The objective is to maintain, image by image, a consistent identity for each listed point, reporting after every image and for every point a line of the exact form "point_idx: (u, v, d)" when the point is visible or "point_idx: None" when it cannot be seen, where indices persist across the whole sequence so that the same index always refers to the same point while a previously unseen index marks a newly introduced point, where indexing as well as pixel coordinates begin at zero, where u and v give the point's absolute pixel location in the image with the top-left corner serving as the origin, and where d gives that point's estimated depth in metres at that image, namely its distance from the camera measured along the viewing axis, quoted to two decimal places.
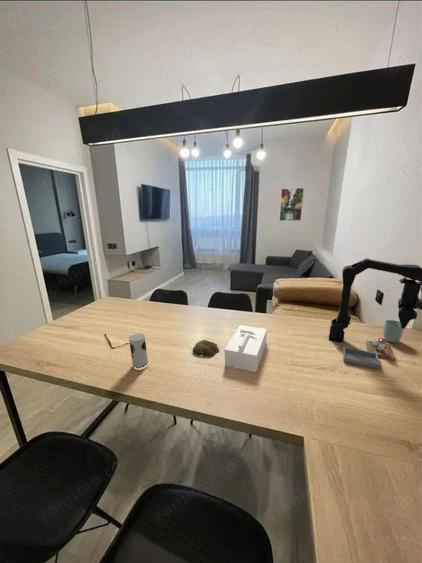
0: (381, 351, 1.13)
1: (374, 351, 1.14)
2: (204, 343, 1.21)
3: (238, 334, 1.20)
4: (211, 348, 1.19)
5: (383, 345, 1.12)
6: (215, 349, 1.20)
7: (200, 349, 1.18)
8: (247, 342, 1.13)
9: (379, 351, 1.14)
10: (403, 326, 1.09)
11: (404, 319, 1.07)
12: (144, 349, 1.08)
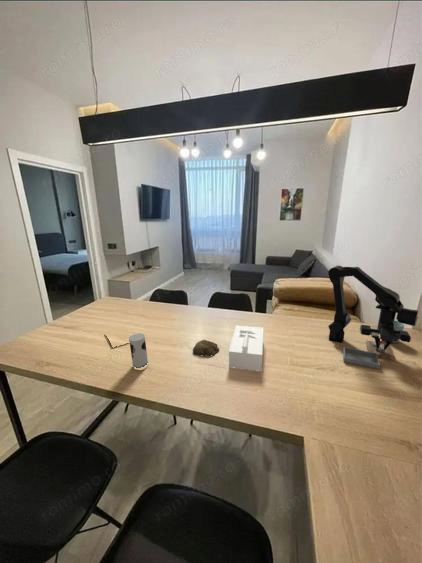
0: (381, 351, 1.13)
1: (374, 351, 1.14)
2: (204, 343, 1.21)
3: (237, 334, 1.20)
4: (211, 348, 1.19)
5: (383, 345, 1.12)
6: (215, 349, 1.20)
7: (200, 349, 1.18)
8: (249, 342, 1.13)
9: (379, 351, 1.14)
10: (376, 345, 1.15)
11: None
12: (144, 349, 1.08)
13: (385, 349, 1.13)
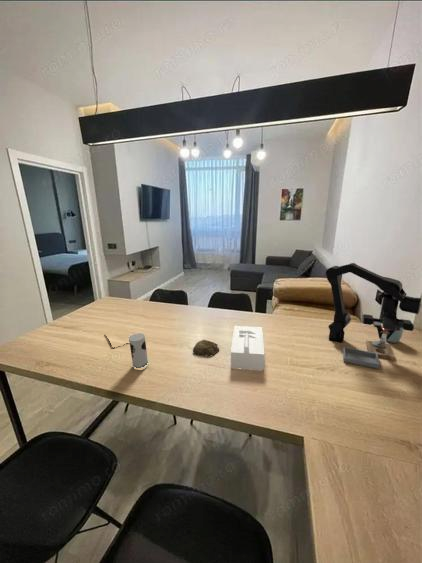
0: (383, 341, 1.12)
1: (374, 351, 1.14)
2: (204, 343, 1.21)
3: (237, 335, 1.19)
4: (211, 348, 1.19)
5: (385, 335, 1.11)
6: (215, 349, 1.20)
7: (200, 349, 1.18)
8: (249, 342, 1.13)
9: (381, 341, 1.12)
10: None
11: None
12: (144, 349, 1.08)
13: None
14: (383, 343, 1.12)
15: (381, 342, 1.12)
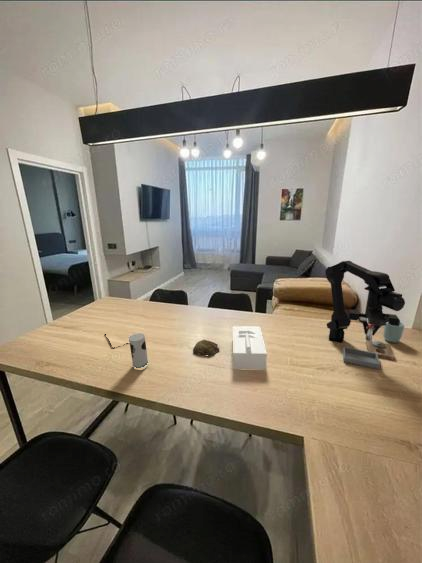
0: (369, 337, 1.07)
1: (374, 351, 1.14)
2: (204, 343, 1.21)
3: (236, 335, 1.19)
4: (211, 348, 1.19)
5: (371, 330, 1.06)
6: (215, 349, 1.20)
7: (200, 349, 1.18)
8: (250, 342, 1.13)
9: (367, 337, 1.08)
10: (364, 331, 1.08)
11: None
12: (144, 349, 1.08)
13: (373, 334, 1.07)
14: (369, 339, 1.07)
15: (367, 338, 1.08)
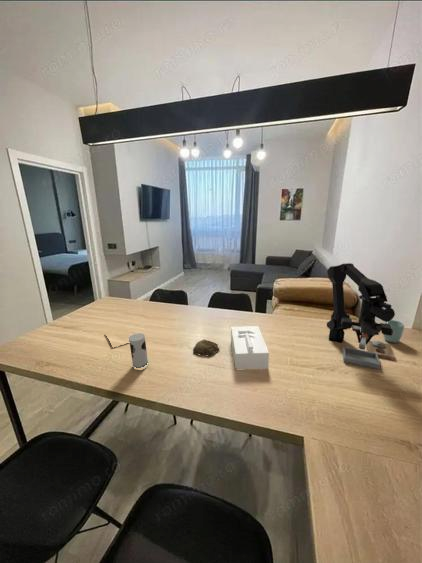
0: (363, 345, 1.07)
1: (374, 351, 1.14)
2: (205, 343, 1.21)
3: (236, 335, 1.19)
4: (212, 348, 1.19)
5: (365, 339, 1.06)
6: (215, 349, 1.20)
7: (200, 349, 1.19)
8: (251, 342, 1.13)
9: (361, 345, 1.08)
10: (358, 339, 1.09)
11: None
12: (144, 349, 1.08)
13: (367, 343, 1.07)
14: (362, 348, 1.08)
15: (360, 347, 1.08)
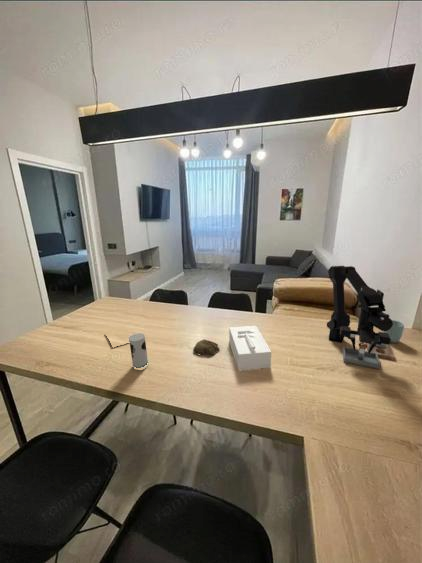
0: (361, 356, 1.09)
1: (374, 351, 1.14)
2: (205, 343, 1.21)
3: (236, 336, 1.18)
4: (212, 348, 1.19)
5: (363, 350, 1.08)
6: (216, 349, 1.20)
7: (201, 349, 1.19)
8: (251, 342, 1.13)
9: (359, 356, 1.09)
10: (353, 347, 1.11)
11: None
12: (144, 349, 1.08)
13: (369, 352, 1.07)
14: (361, 359, 1.09)
15: (359, 357, 1.10)
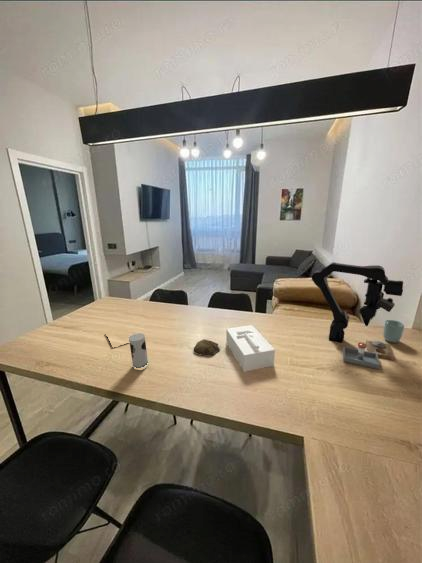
0: (361, 356, 1.09)
1: (374, 351, 1.14)
2: (205, 342, 1.21)
3: (236, 337, 1.18)
4: (212, 347, 1.19)
5: (363, 350, 1.08)
6: (216, 348, 1.20)
7: (201, 348, 1.19)
8: None
9: (359, 356, 1.09)
10: (366, 323, 1.14)
11: (366, 317, 1.13)
12: (144, 349, 1.08)
13: (372, 318, 1.21)
14: (361, 358, 1.09)
15: (359, 357, 1.10)
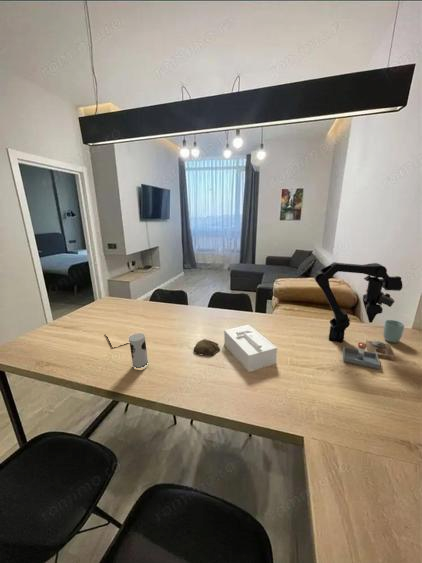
0: (361, 356, 1.09)
1: (374, 351, 1.14)
2: (205, 342, 1.21)
3: (236, 338, 1.17)
4: (212, 347, 1.19)
5: (363, 350, 1.08)
6: (216, 348, 1.20)
7: (201, 348, 1.19)
8: None
9: (359, 356, 1.09)
10: (370, 320, 1.17)
11: (371, 314, 1.16)
12: (144, 349, 1.08)
13: None
14: (361, 359, 1.09)
15: (359, 358, 1.10)
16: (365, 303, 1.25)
